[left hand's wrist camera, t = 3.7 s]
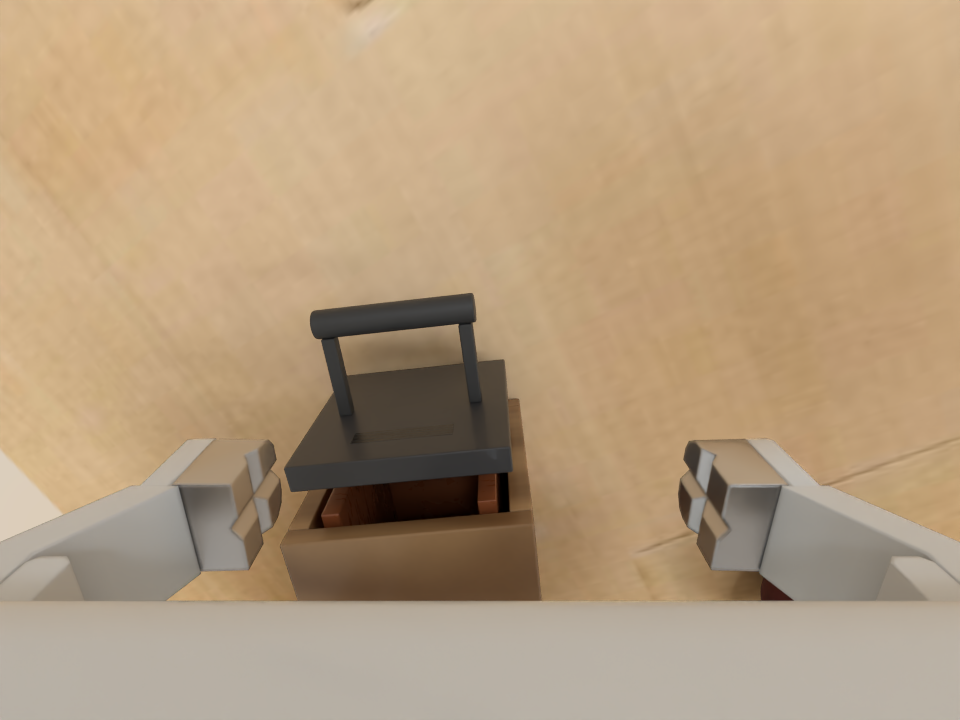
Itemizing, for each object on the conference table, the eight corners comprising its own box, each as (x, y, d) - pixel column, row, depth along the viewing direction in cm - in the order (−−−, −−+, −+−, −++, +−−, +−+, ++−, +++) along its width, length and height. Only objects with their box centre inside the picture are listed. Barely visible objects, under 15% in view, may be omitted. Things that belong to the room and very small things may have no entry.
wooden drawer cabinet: (348, 415, 31) (278, 545, 21) (518, 398, 31) (534, 523, 20) (396, 614, 37) (360, 794, 27) (539, 604, 37) (559, 783, 26)
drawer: (323, 287, 27) (246, 348, 19) (494, 267, 27) (496, 321, 18) (391, 579, 35) (359, 720, 26) (527, 568, 34) (539, 708, 26)
